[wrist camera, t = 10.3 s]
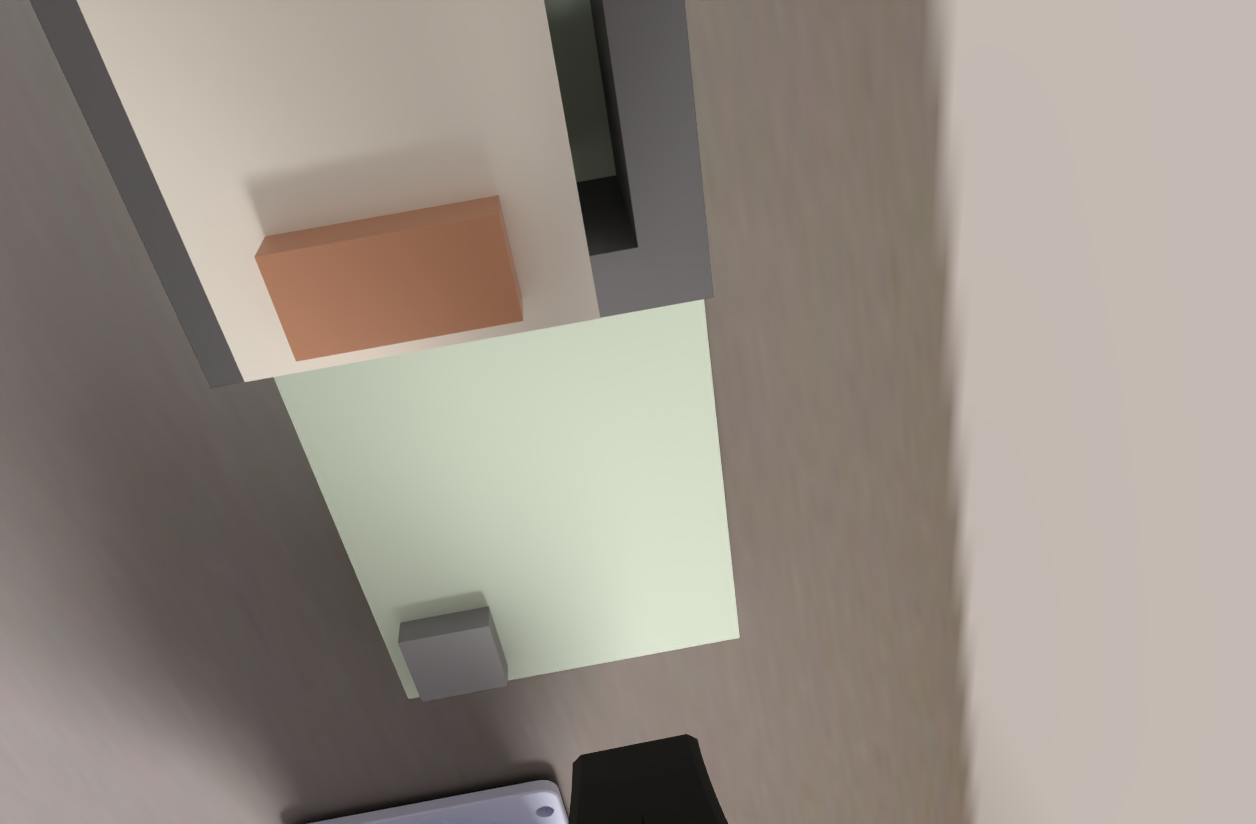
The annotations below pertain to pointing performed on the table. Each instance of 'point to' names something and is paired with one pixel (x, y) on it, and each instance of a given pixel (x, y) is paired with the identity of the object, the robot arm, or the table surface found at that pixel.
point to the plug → (357, 169)
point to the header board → (517, 396)
